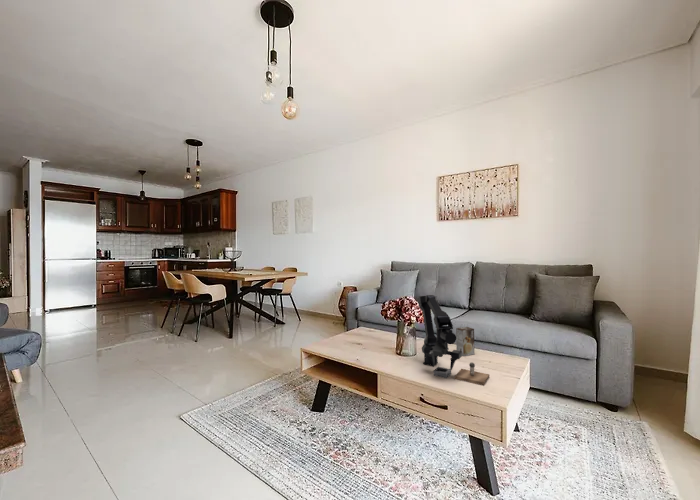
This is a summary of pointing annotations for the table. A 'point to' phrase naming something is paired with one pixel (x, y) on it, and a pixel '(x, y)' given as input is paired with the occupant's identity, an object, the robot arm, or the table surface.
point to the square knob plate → (472, 376)
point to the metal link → (442, 372)
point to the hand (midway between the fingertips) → (442, 368)
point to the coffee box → (465, 340)
